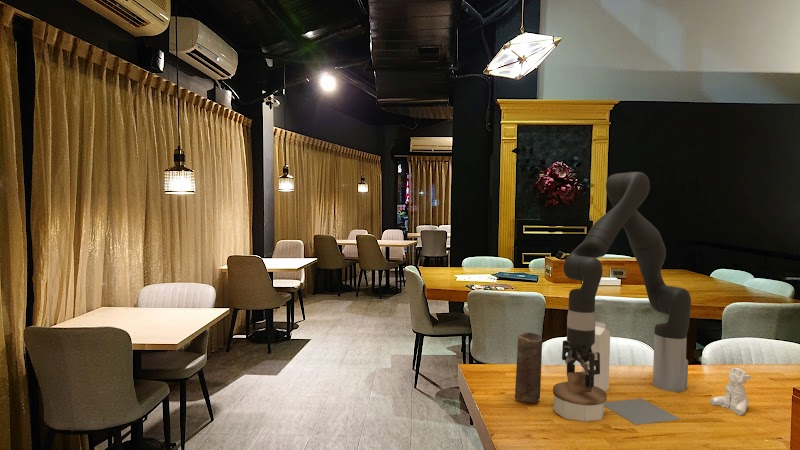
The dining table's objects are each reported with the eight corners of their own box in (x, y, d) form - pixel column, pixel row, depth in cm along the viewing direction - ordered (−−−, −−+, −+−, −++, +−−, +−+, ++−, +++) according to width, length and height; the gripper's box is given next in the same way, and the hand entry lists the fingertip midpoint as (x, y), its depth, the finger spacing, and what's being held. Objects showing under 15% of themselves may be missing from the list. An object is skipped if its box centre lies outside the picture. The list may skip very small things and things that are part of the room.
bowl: (584, 401, 147) (584, 385, 147) (613, 419, 135) (613, 401, 134) (546, 405, 144) (546, 388, 144) (572, 424, 131) (573, 406, 131)
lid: (585, 383, 148) (585, 363, 148) (618, 402, 134) (618, 380, 134) (543, 388, 144) (543, 367, 144) (572, 407, 130) (573, 384, 130)
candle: (541, 397, 149) (543, 333, 149) (540, 407, 143) (541, 339, 142) (516, 394, 152) (517, 331, 151) (513, 403, 145) (515, 337, 144)
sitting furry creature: (708, 404, 146) (709, 364, 146) (726, 399, 150) (728, 361, 149) (740, 416, 138) (742, 374, 137) (759, 411, 141) (761, 371, 141)
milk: (598, 394, 153) (600, 325, 152) (581, 388, 158) (583, 321, 157) (609, 390, 156) (611, 322, 155) (591, 384, 161) (593, 318, 160)
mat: (641, 399, 149) (641, 398, 149) (681, 420, 135) (681, 419, 135) (599, 404, 145) (599, 402, 145) (635, 426, 131) (635, 424, 131)
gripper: (609, 331, 132) (607, 390, 133) (577, 319, 146) (575, 372, 147) (585, 333, 130) (583, 392, 131) (555, 321, 144) (553, 374, 145)
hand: (579, 382), depth 139 cm, fingers open, 8 cm apart
